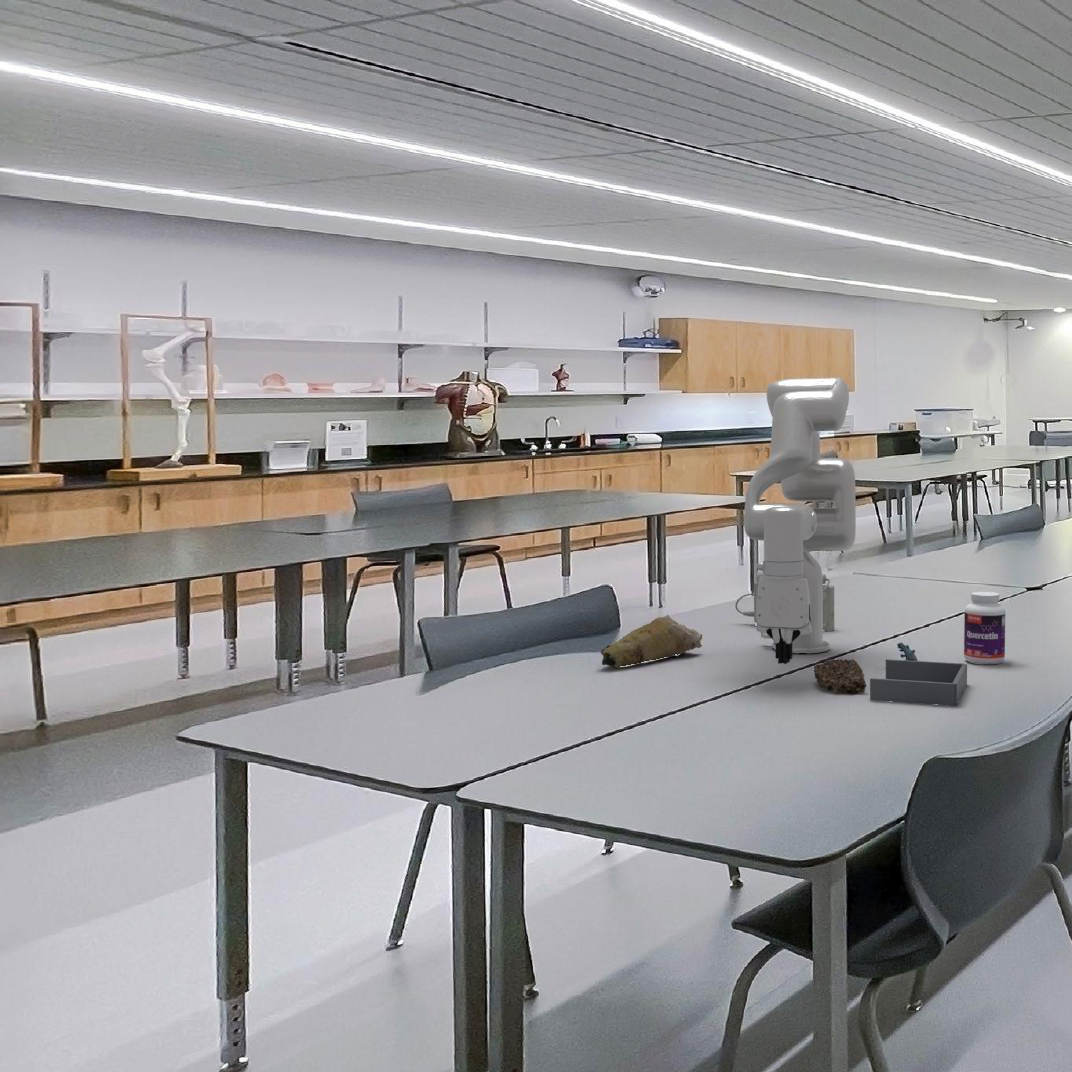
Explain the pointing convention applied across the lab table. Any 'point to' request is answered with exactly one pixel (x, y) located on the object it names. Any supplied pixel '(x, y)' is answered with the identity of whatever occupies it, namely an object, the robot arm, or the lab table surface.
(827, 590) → the geiger counter
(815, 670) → the concrete sample
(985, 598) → the pill bottle
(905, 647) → the sculpture
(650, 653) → the mineral
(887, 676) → the tray
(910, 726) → the lab table surface
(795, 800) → the lab table surface
